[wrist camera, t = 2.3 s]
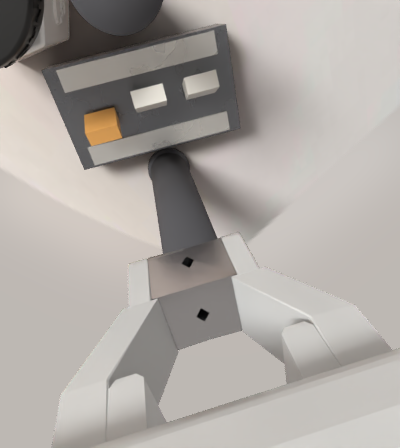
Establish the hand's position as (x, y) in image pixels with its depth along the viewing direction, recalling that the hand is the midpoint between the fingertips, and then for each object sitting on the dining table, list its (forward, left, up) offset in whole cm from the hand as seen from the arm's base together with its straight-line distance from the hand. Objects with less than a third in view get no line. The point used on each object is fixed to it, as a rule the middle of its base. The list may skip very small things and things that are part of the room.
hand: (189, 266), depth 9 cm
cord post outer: (0, +7, -24) cm, 25 cm away
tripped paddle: (+4, 0, -21) cm, 21 cm away
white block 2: (-4, 0, -21) cm, 21 cm away
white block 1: (0, 0, -21) cm, 21 cm away
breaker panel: (0, 0, -24) cm, 24 cm away
